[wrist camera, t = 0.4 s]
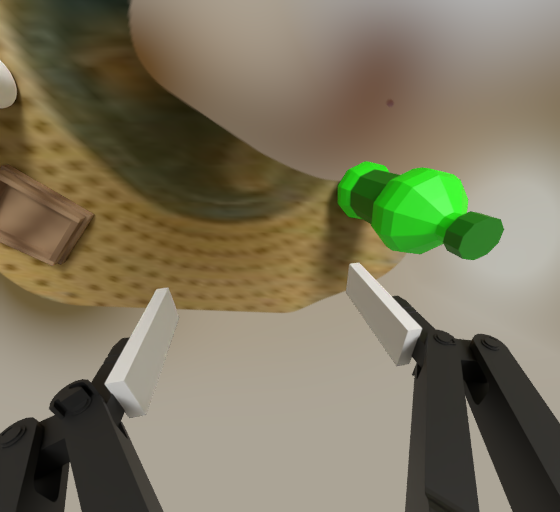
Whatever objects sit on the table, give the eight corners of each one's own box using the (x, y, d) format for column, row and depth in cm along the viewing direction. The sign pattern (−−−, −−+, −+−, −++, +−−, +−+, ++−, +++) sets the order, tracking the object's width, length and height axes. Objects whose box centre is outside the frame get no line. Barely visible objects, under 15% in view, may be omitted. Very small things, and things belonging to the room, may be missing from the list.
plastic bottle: (329, 218, 44) (418, 295, 22) (329, 161, 39) (445, 188, 17) (376, 210, 45) (507, 277, 23) (382, 154, 40) (558, 171, 18)
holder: (-19, 222, 34) (-36, 228, 32) (8, 164, 32) (-9, 166, 29) (64, 261, 39) (54, 269, 37) (94, 214, 36) (85, 219, 34)
